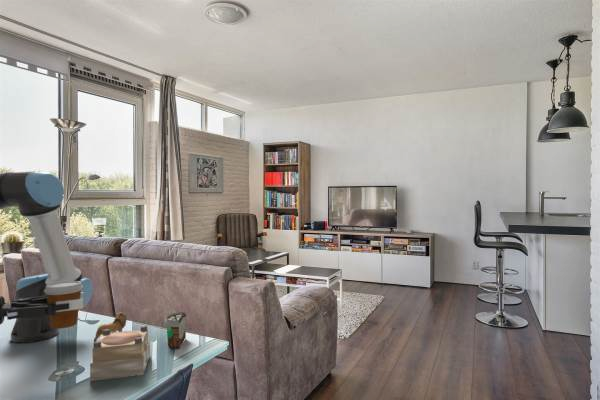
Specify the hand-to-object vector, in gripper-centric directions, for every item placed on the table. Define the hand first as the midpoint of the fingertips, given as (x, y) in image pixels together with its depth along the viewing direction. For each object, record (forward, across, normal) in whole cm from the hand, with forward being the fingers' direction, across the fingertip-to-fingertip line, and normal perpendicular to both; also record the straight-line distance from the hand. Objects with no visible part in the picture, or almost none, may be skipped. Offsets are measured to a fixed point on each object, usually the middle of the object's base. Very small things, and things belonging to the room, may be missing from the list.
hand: (83, 300), depth 111 cm
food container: (+28, -10, -22) cm, 37 cm away
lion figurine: (+9, -26, -22) cm, 35 cm away
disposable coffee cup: (-5, 0, -7) cm, 8 cm away
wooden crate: (+10, +2, -22) cm, 24 cm away
